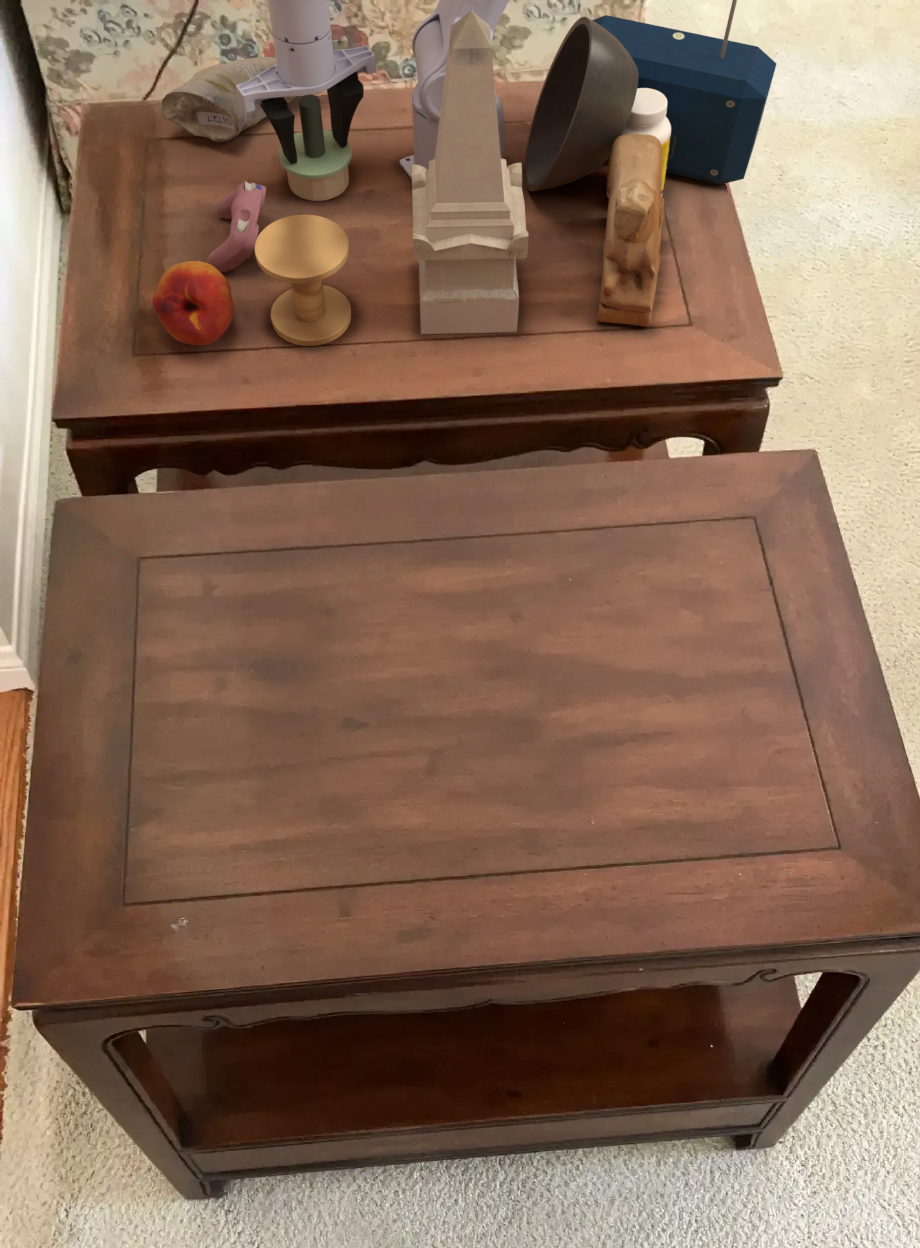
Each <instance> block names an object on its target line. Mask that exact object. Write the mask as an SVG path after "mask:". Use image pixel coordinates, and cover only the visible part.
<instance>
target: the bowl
mask: <svg viewBox="0 0 920 1248" xmlns="http://www.w3.org/2000/svg"><path fill="white" fill-rule="evenodd" d="M592 20H593V19H590V18H589V17H588V16H581V17H579V18H578V19H577V20H576V21H575V22H574V23H573V24H572V26H571V27H570V28H569V30H568V31H567V33H566V34H565V36H564V38H563V40H562V41H561V44H560V45H559V47H558V49H557V52H556V53H555V56H554V58H553V59H552V61H551V64H550V67H549V69H548V72H547V74H546V77H545V79H544V82H543V85H542V88H541V90H540V93H539V96H538V99H537V102H536V106H535V109H534V113H533V117H532V120H531V124H530V129H529V134H528V138H527V145H526V151H525V159H524V180H525V185H526V188H527V190H528V191H529V192H537V191H545V190H549V189H554V188H557V187H561V186H564V185H567V184H570V183H572V182H575V181H577V180H579V179H582V178H584V177H586V176H588V175H590V174H591V173H593V172H594V171H597V170H598V169H599V168H601V167H602V166H603V165H604V164H605V163H606V162H607V161H608V158H609V156H610V155H611V153H612V148H613V143H614V141H615V139H616V138H617V137H619V136H621V135H622V133H623V131H624V129H625V126H626V124H627V121H628V119H629V116H630V113H631V110H632V107H633V104H634V101H635V97H636V92H637V87H638V79H639V73H638V68H637V66H636V64H635V62H634V60H633V59H632V57H631V56H630V54H629V53H628V51H627V50H626V49H625V47H624V46H623V45H622V44H621V43H620V42H619V41H618V39H616V38H615V37H614V36H613V35H612V34H611V33H610V32H609V31H607V30H606V29H605V28H603V27H602V26H600V25H599V24H597V23H596V22H594V21H592Z"/></svg>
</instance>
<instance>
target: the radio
mask: <svg viewBox="0 0 920 1248" xmlns="http://www.w3.org/2000/svg"><path fill="white" fill-rule="evenodd" d="M737 2H738V0H732V1H731V6H730V9H729V14H728V19H727V23H726V28H725V32H724V36H723V38H719V37H714V36H710V35H705V34H699V33H694V32H689V31H685V30H680V29H675V28H670V27H667V26H666V27H665V26H660V25H655V24H651V23H646V22H641V21H636V20H633V19H628V18H627V19H626V18H622V17H617V16H614V15H613V16H612V15H609V14H605V15H601V16H600V17H597V18H593V19H591V20H592V21H594V22H596V23H597V24H599V25H600V26H602V27H603V28H605V29H606V30H607V31H609V32H610V33H611V34H612V35H613V36H614V37H615V38H616V39H618V41H619V42H620V43H621V44H622V45H623V46H624V47H625V49H626V50H627V51H628V53H629V54H630V56H631V57H632V59H633V60H634V62H635V64H636V66H637V68H638V73H639V79H638V87H637V89H638V88H650V89H654V90H657V91H659V92H661V93H662V94H663V95H664V96H665V97H666V98H667V113H666V117H667V118H668V120H669V122H670V125H671V137H670V145H669V153H668V160H667V168H666V173H667V174H670V175H675V176H680V177H684V178H687V179H688V178H689V179H691V180H692V179H693V180H697V181H701V182H705V183H710V184H715V185H718V186H722V185H725V184H730V183H732V182H737V181H740V180H741V181H742V180H744V179H745V176H746V173H747V170H748V166H749V163H750V160H751V157H752V153H753V151H754V148H755V143H756V140H757V137H758V134H759V129H760V126H761V122H762V120H763V119H762V118H763V114H764V111H765V108H766V104H767V100H768V96H769V93H770V89H771V85H772V82H773V78H774V75H775V71H776V68H777V62H776V61H775V60H773V59H772V58H771V57H770V56H769V54H767V53H766V52H765V51H763V49H761V48H760V47H759V46H757V45H752V44H747V43H743V42H737V41H733V40H729V36H730V32H731V28H732V25H733V19H734V15H735V11H736V6H737ZM607 161H609V158H608V159H607Z"/></svg>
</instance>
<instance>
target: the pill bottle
mask: <svg viewBox="0 0 920 1248" xmlns="http://www.w3.org/2000/svg"><path fill="white" fill-rule="evenodd" d="M666 113H667V98H666V97H665V96H664V95H663V94H662V93H661V92H659V91H657V90H654V89H650V88H638V89H637V92H636V97H635V101H634V104H633V107H632V110H631V113H630V116H629V119H628V121H627V124H626V126H625V129H624V131H623V133H622V135H627V134H644V135H646V134H649V135H652V136H655V137H656V138H657V139H658V140H659V141H660V143H661V147H662V189H661V196H662V197H663V194H664V190H665V182H666V168H667V160H668V153H669V145H670V137H671V125H670V122H669V120H668V118H667V117H666ZM611 155H612V153H611ZM611 155H610V156H609V160H607V162H608V163H607V174H606V188H605V189H606V190H605V192H606V196H607V198H608V199H609V198H610V195H609V189H608V188H609V175H610V165H611Z"/></svg>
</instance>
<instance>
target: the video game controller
mask: <svg viewBox="0 0 920 1248" xmlns="http://www.w3.org/2000/svg"><path fill="white" fill-rule="evenodd" d="M266 192H267V186H265V185H261V184H258V183H257V182H248V181H246V180H244V181H243V182H242V183H239V185H237V187H236V188H235V189H234V190H233V191H231V192H229V193H228V194H227V195H225V196H224V197H223V198H221V199H220V200H219V202H218V204H217V206H216V213H217V215H218V216H219V217H220V218H222V219H224V220H231V222H230V228H229V234H228V237H227V238H226V239H225V241H223V243H222V244H221V245H219V246H218V247H216V248H215V249H214V250H212V251H211V252H210V253H209V254H208V256H207V257H206V259H205V263H208V264H211V265H212V266H214V267H215V268H216V269H217V270H218V271H220V272H221V273H226V272H229V271H233V270H234V269H235V268H237V267H238V266H240V265H241V264H242V263H244V262H245V261H246V260H247V259H249V258H250V257H251V256H252V253H253V252H254V250H255V243H256V240H257V238H258V236H259V231H260V225H259V224H258V219H259V214H260V212H261V210H262V208H263V205H264V202H265V196H266Z"/></svg>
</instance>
